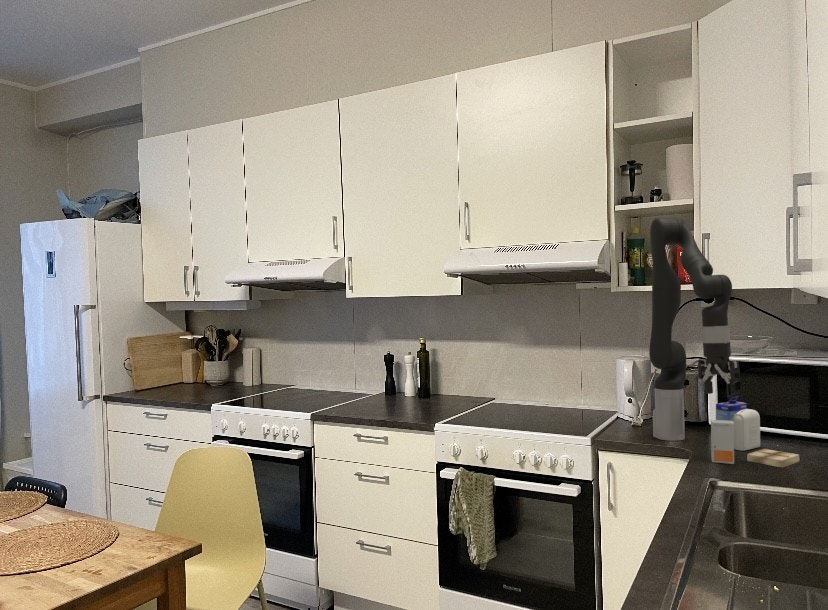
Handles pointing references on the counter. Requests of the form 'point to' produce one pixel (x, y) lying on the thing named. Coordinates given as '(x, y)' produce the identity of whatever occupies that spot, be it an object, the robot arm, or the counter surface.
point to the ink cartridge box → (729, 409)
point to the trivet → (773, 458)
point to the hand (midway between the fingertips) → (720, 394)
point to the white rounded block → (746, 429)
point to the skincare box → (722, 441)
